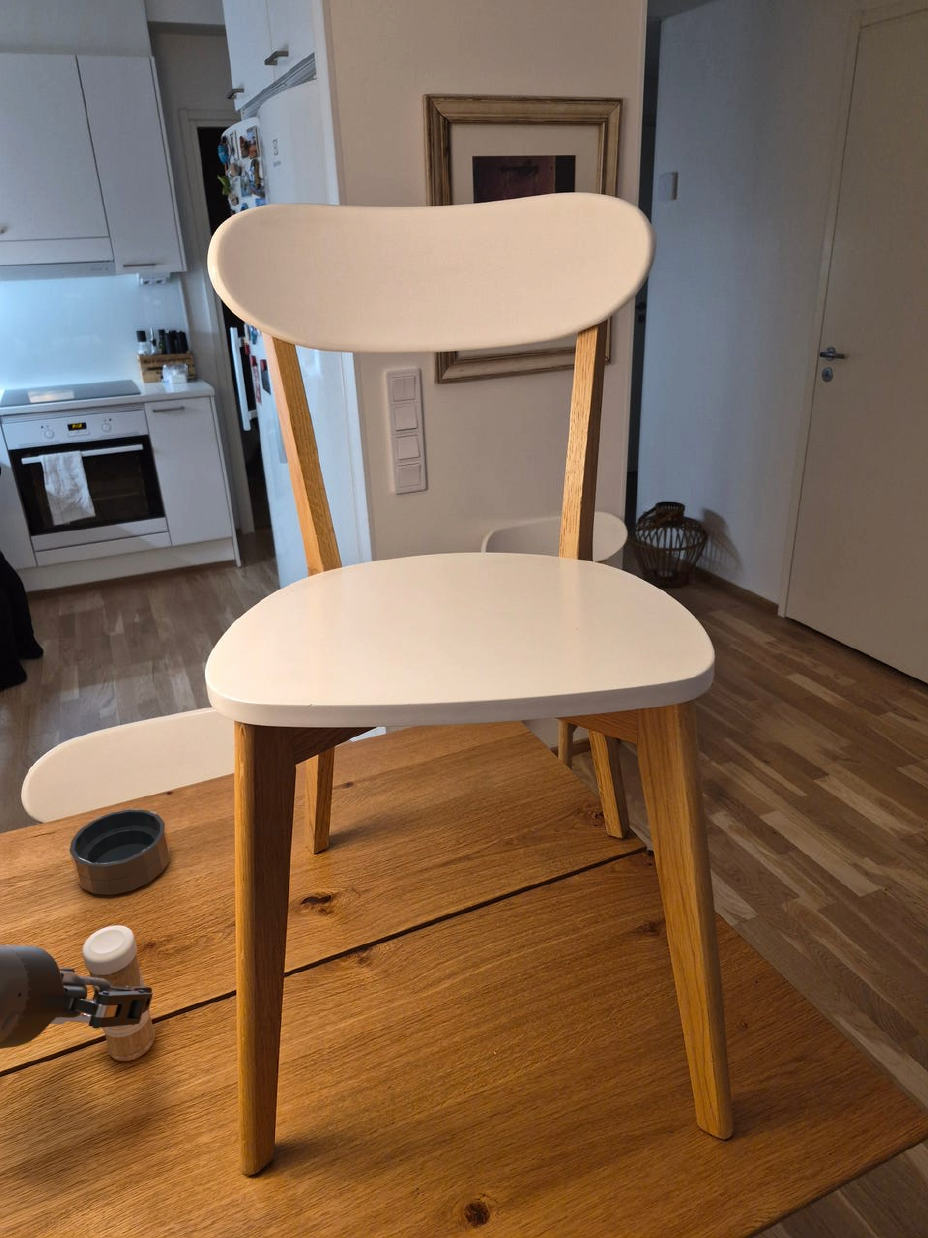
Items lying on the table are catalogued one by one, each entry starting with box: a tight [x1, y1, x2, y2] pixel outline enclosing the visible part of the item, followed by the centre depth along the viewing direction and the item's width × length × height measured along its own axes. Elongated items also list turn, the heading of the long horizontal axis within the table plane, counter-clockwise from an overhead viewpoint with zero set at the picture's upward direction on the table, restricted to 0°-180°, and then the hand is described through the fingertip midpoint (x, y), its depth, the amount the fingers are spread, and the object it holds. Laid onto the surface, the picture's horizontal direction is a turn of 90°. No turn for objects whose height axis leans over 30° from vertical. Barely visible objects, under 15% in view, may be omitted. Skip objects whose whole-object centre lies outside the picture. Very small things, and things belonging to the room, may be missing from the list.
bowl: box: [69, 808, 171, 896], centre depth 105 cm, size 11×11×5 cm
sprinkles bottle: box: [81, 925, 156, 1062], centre depth 80 cm, size 5×5×13 cm
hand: (107, 989), depth 77 cm, fingers open, 8 cm apart
